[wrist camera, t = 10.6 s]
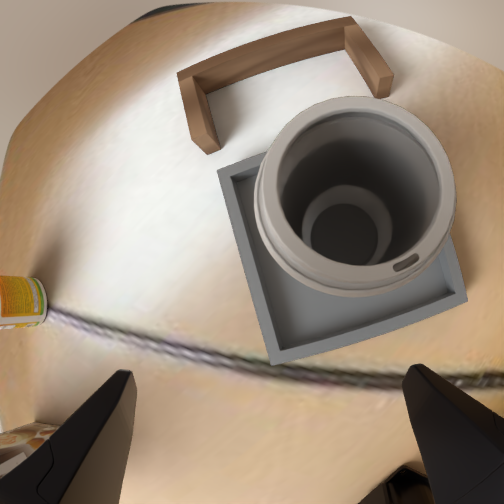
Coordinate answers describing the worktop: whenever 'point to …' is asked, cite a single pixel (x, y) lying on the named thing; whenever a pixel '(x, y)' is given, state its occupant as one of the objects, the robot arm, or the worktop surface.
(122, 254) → the worktop surface
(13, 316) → the supplement bottle
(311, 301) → the tray
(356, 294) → the cup
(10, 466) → the coffee box
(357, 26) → the cubby
